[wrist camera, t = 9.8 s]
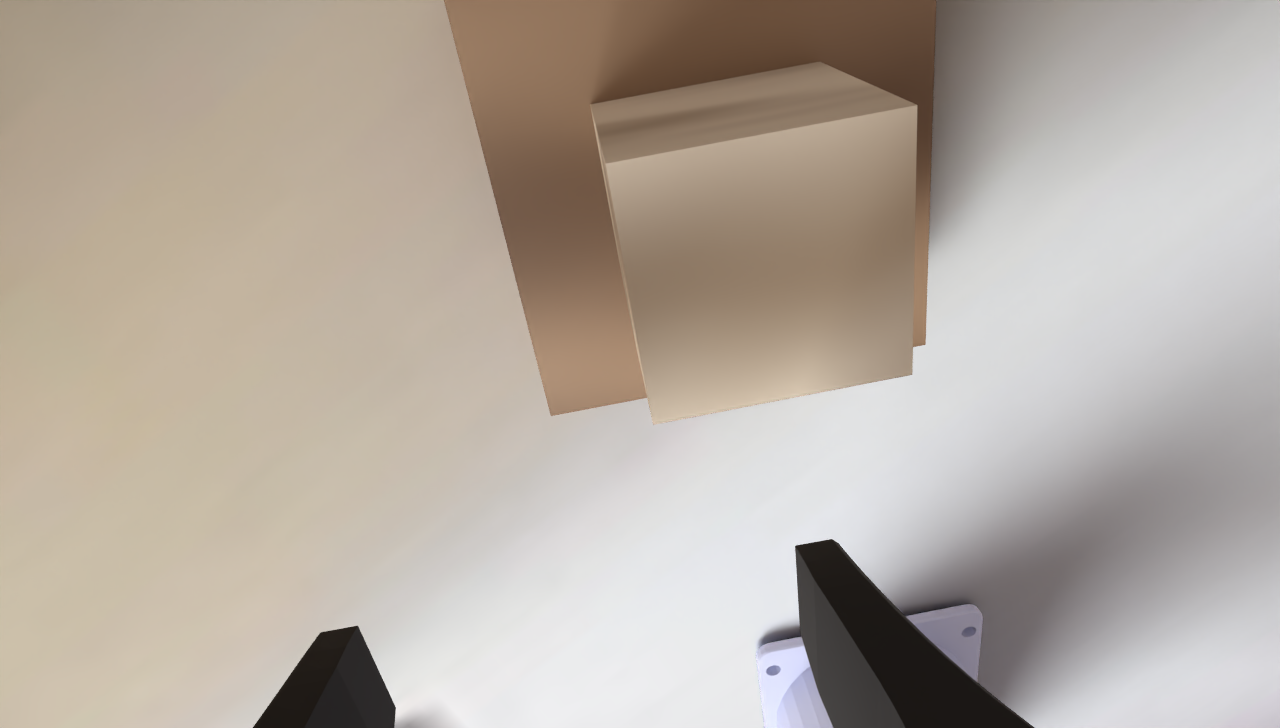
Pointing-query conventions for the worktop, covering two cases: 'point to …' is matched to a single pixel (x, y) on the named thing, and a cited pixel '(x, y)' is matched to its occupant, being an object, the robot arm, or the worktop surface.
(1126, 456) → the worktop surface
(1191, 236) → the worktop surface
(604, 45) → the walnut base
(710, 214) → the birch block
